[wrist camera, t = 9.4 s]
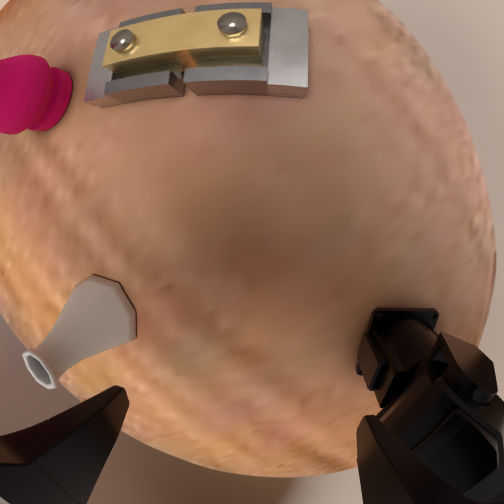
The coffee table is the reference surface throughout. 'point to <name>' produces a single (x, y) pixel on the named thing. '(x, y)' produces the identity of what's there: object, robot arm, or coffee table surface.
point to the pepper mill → (31, 94)
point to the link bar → (187, 42)
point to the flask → (83, 329)
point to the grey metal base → (217, 77)
